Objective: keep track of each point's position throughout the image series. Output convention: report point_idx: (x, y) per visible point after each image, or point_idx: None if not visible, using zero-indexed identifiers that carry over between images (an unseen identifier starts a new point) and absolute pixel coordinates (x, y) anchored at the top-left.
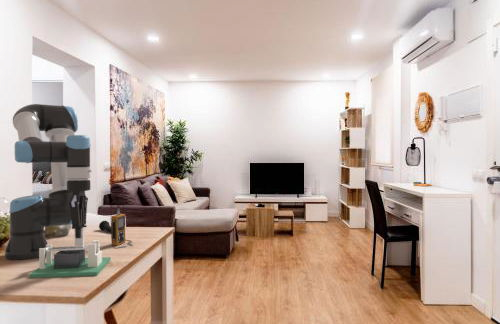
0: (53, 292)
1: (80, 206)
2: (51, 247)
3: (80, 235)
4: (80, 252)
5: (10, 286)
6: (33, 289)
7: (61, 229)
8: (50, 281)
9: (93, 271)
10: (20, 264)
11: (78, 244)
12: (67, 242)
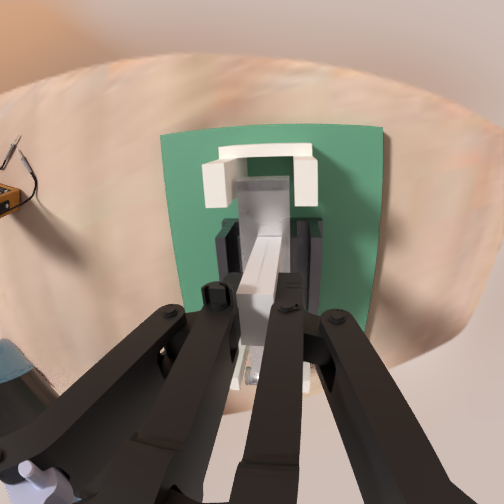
0: (494, 228)
1: (184, 488)
2: (251, 367)
3: (285, 280)
4: (291, 237)
5: (416, 348)
6: (459, 288)
7: None
8: (410, 271)
9: (376, 143)
10: None
11: (281, 266)
12: (33, 332)
